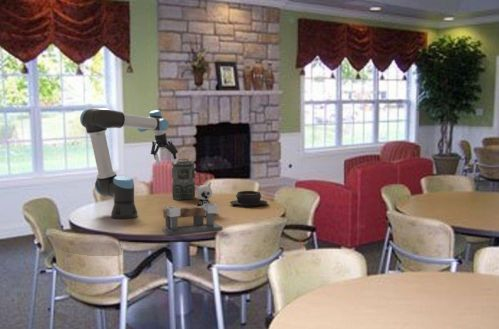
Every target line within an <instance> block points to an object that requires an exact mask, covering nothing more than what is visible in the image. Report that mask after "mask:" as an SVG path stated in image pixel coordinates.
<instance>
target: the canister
mask: <svg viewBox="0 0 499 329" xmlns="http://www.w3.org/2000/svg"><path fill="white" fill-rule="evenodd" d="M180 160H181V161H180ZM171 165H172V168H171V178H172V184H171V186H172V188H171V189H172V192H171V194H172V198H173V199H174V200H178V201H183V200H194V199H195V198H196V188H195V186H194V185H196V184H195V178H196V177H195V176H196V175H195V162H194V161H192V160H189V159H188V158H179V159H178V161H177V163H176V164H174V163H173V162H172V163H171Z"/></svg>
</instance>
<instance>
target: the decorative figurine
mask: <svg viewBox="0 0 499 329" xmlns="http://www.w3.org/2000/svg"><path fill="white" fill-rule="evenodd" d="M211 184H212V181H210V182H208V183H207V184H202V185H201V184H200V186H199V185H197V184H195V185H194V186H195V195H196V196H197V198H198V199H199V200H198V202H197V205H195V206H194V207H197V206H203V204H208V203H211V202H210V198H211V197H212V196H213V195H212V194H213V190H212V188H211ZM214 215H216V213H214ZM203 217H206V212H205V215H203Z"/></svg>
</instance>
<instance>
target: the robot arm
mask: <svg viewBox="0 0 499 329" xmlns="http://www.w3.org/2000/svg"><path fill="white" fill-rule="evenodd" d="M79 121H80V124H81V126H82V127H84V129H85V130H86V134H88V135H89V137H90V141H91V145H92V150H93V156H94V159H95V164H96V167H97V175H96V180H95V182H94V189H95V191H96V192H97V193H98V194H99V195H100V196H103V197H109V198H113V206H112V210H111V213H110V214H111V215H110V218H112V219H118V220H122V219H123V220H124V219H126V220H127V219H133V218H137V217H138V215H139V214H138V209H137V207H136V205H135V183H134V179H133V178H132V177H130V176H127V175H126V176H123V175H117V172H116V171H114V169H113V165H112V159H111V155H110V150H109V147H108V146H109V145H108V140H107V136H106V131H107V129H115V128H116V129H121V128H129V129H130V128H131V129H137V131H138V132H141V133H143V132H146V131H153V135H154V140H153V141H152V142H151V144H152V145H151V151H150V155H152V156H153V158H154V160H155V163H156V165H159V164H160V163H161V162H160V157H159V154H158V152H159V149H160V148H165V149H166V150H167V151H168V152H170V153H171V157H172V163H174V164H176V163H177V162H178V161H177V154H178V153H179V151H178V150H177V148H176V146H175V145H174V144H173V142H172V139H169V140H167V133H166V131H167V130H168V129H169V127H170V123H169V120H168V119H167V118H163V114H162V112H161V110H160V109H158V110H157V109H156V110H151V111H150V112H149V116H143V115H135V114H129V113H128V114H127V113H124V112H123V111H119V110H114V109H110V108H105V107H89V108H85V109H84V110H83V111H81V114H80V117H79Z"/></svg>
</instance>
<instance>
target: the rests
mask: <svg viewBox="0 0 499 329" xmlns="http://www.w3.org/2000/svg"><path fill="white" fill-rule="evenodd" d="M192 218H193V219H192V220H193V225H200V224H204V216H192ZM164 219H165V218H164ZM164 221H165V228H170V219H165V220H164Z"/></svg>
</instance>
